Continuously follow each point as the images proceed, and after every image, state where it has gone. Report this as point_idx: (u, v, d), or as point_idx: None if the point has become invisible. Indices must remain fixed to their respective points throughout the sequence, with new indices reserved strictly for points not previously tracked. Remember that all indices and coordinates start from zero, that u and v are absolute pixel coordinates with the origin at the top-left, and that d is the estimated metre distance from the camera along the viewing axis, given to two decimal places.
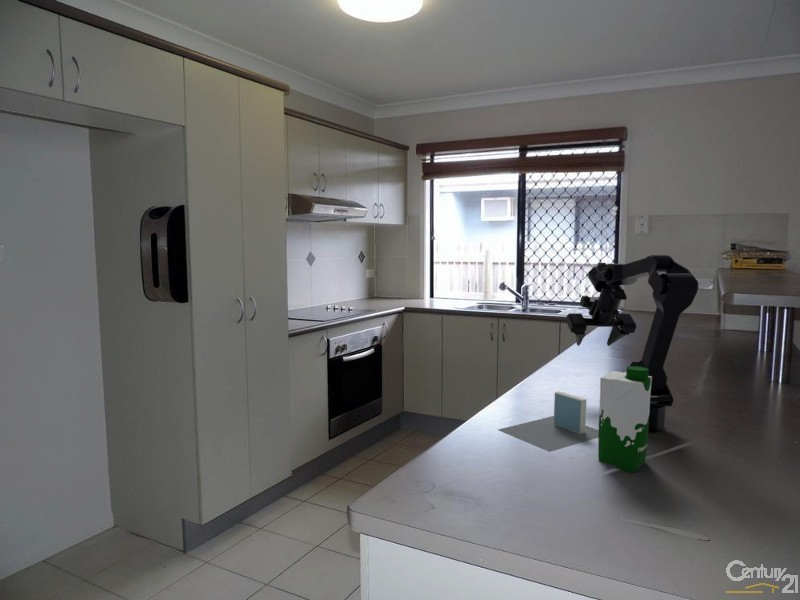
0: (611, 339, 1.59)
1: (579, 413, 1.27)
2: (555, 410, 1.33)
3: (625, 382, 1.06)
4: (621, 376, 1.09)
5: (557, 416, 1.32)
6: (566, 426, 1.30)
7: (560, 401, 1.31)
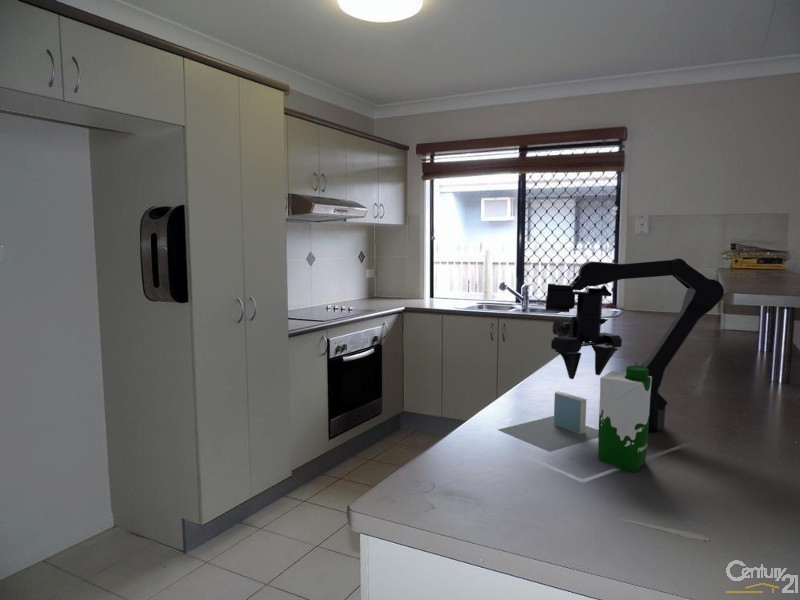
0: (600, 365, 1.36)
1: (579, 413, 1.27)
2: (555, 410, 1.33)
3: (625, 382, 1.06)
4: (621, 376, 1.09)
5: (557, 416, 1.32)
6: (566, 426, 1.30)
7: (560, 401, 1.31)
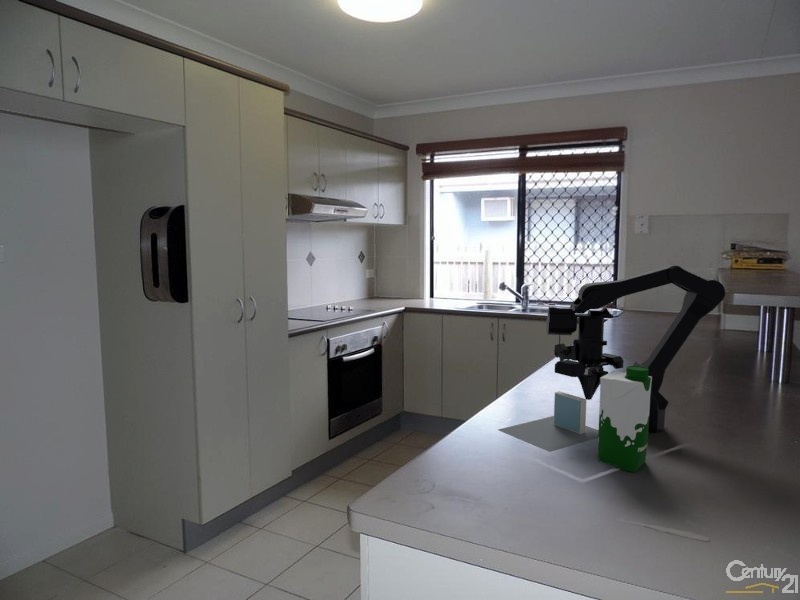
0: None
1: (579, 413, 1.27)
2: (555, 410, 1.33)
3: (625, 382, 1.06)
4: (621, 376, 1.09)
5: (557, 416, 1.32)
6: (566, 426, 1.30)
7: (560, 401, 1.31)
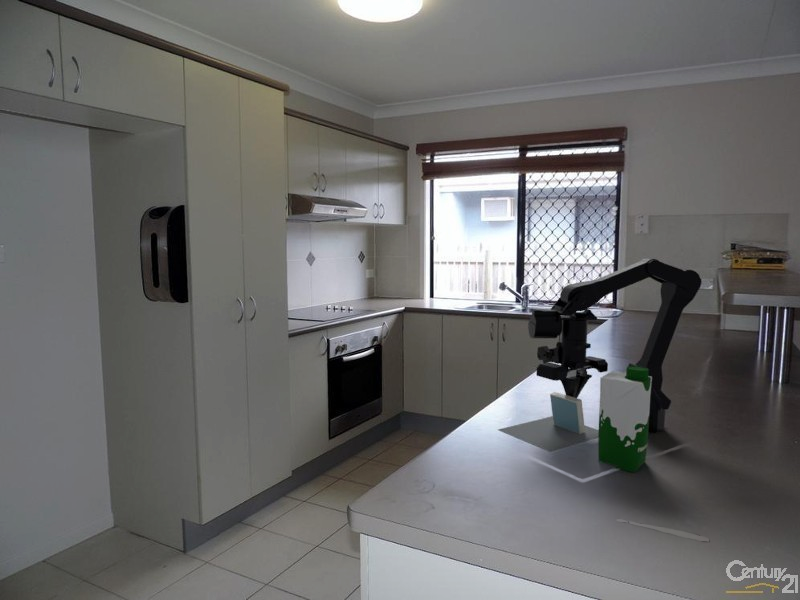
0: None
1: (576, 415, 1.26)
2: (553, 411, 1.32)
3: (625, 382, 1.06)
4: (621, 376, 1.09)
5: (556, 417, 1.32)
6: (566, 426, 1.30)
7: (556, 403, 1.30)
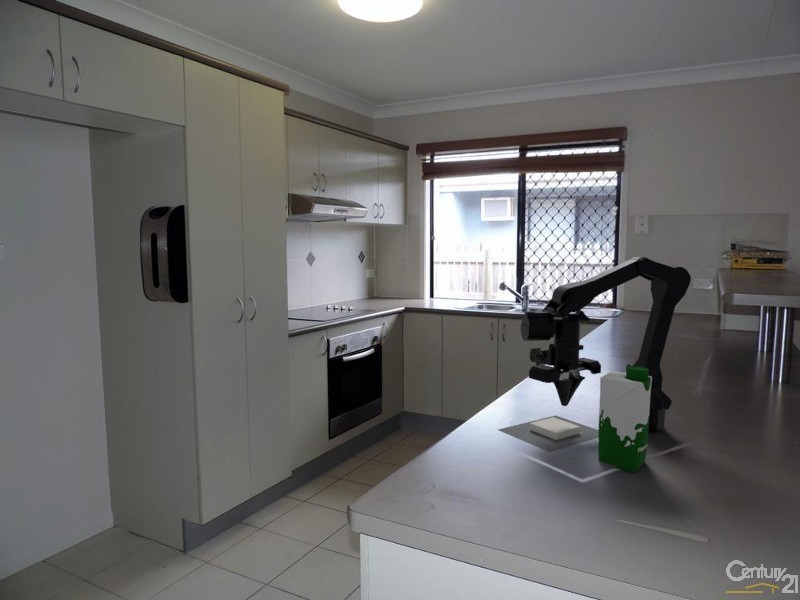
0: None
1: (565, 437, 1.24)
2: None
3: (625, 382, 1.06)
4: (621, 376, 1.09)
5: None
6: None
7: None
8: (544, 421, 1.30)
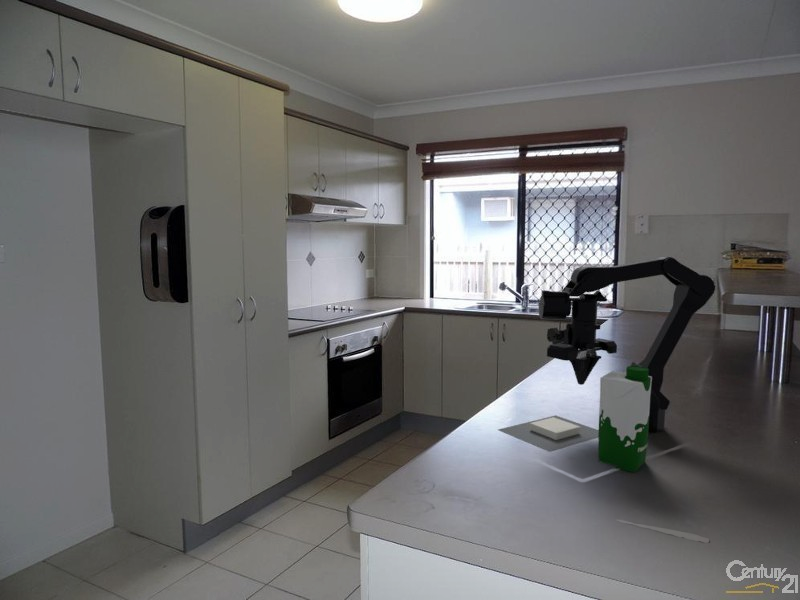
0: None
1: (565, 437, 1.24)
2: None
3: (625, 382, 1.06)
4: (621, 376, 1.09)
5: None
6: None
7: None
8: (544, 421, 1.30)
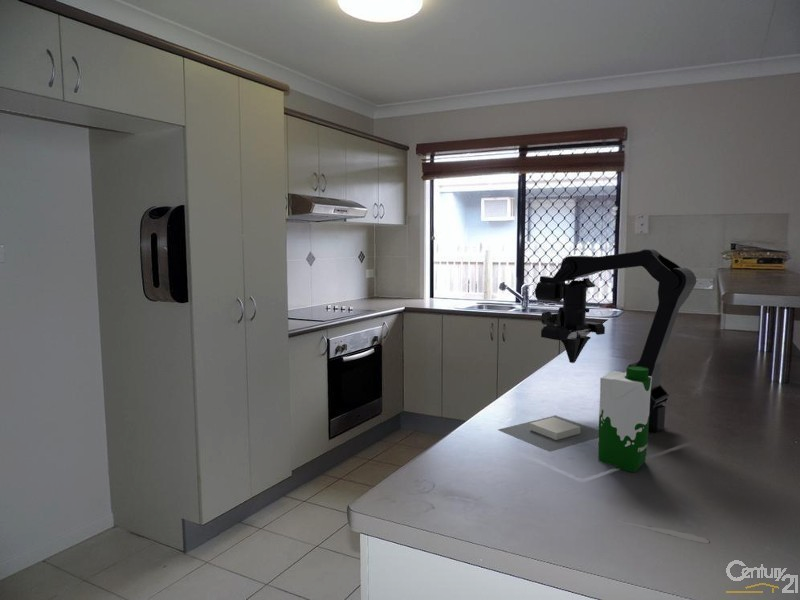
0: None
1: (565, 437, 1.24)
2: None
3: (625, 382, 1.06)
4: (621, 376, 1.09)
5: None
6: None
7: None
8: (544, 421, 1.30)
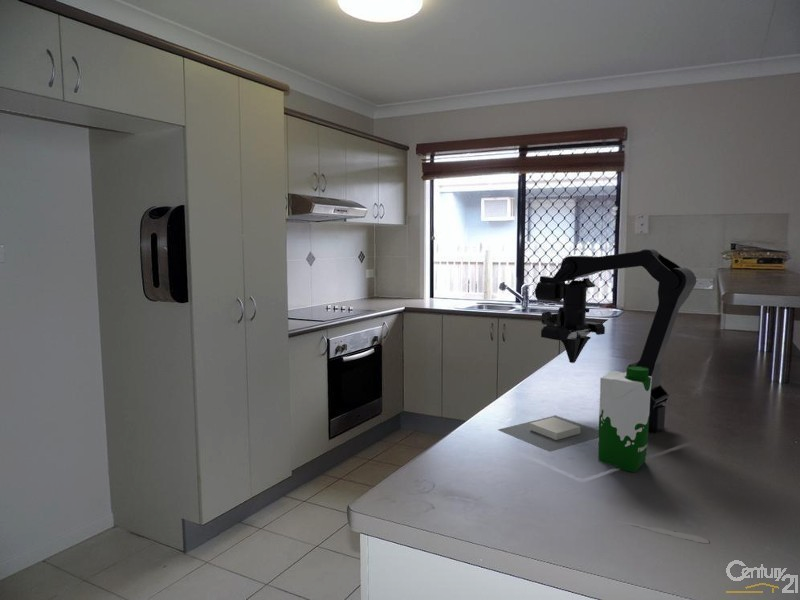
0: None
1: (565, 437, 1.24)
2: None
3: (625, 382, 1.06)
4: (621, 376, 1.09)
5: None
6: None
7: None
8: (544, 421, 1.30)
